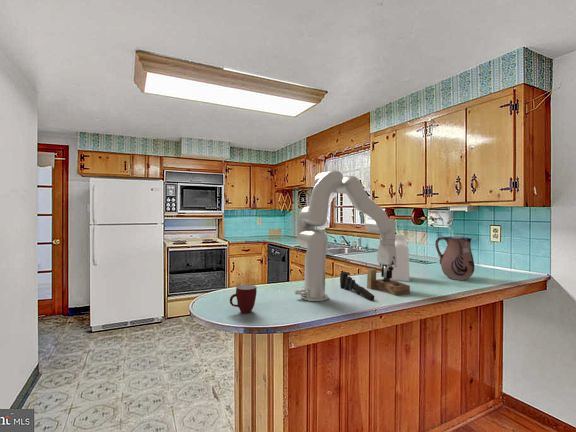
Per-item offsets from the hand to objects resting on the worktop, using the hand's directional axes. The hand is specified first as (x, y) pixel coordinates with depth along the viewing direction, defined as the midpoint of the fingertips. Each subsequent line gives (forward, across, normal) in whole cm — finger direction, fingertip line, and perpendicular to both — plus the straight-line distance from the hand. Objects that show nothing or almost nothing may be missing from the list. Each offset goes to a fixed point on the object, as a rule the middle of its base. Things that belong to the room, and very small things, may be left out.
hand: (386, 277), depth 166 cm
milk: (+6, -17, +22) cm, 28 cm away
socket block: (+6, +4, 0) cm, 7 cm away
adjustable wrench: (+6, +3, -21) cm, 22 cm away
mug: (+6, +10, -79) cm, 80 cm away
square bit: (+6, -3, -7) cm, 10 cm away
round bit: (+3, 0, 0) cm, 3 cm away
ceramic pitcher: (+7, -5, +55) cm, 55 cm away
